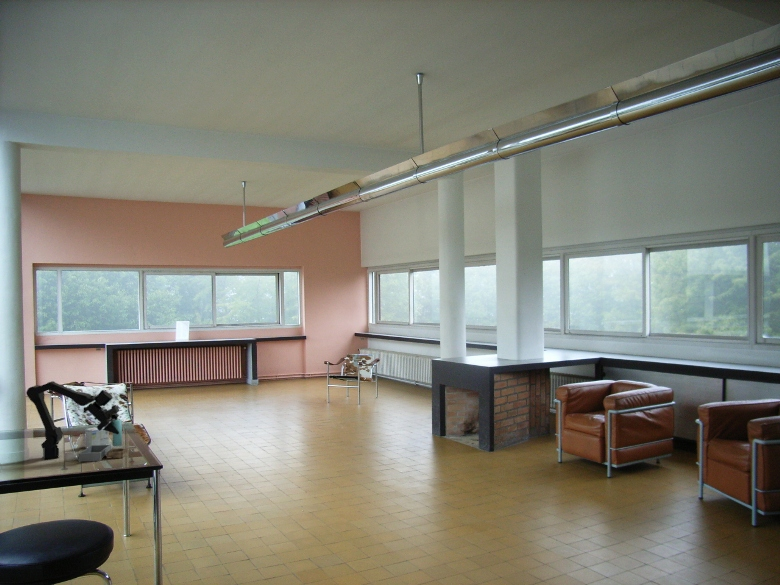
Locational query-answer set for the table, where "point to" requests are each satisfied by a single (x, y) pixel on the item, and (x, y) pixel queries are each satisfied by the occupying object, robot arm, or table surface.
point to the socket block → (117, 452)
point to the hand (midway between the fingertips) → (120, 432)
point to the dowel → (117, 437)
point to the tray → (94, 453)
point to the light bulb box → (96, 437)
